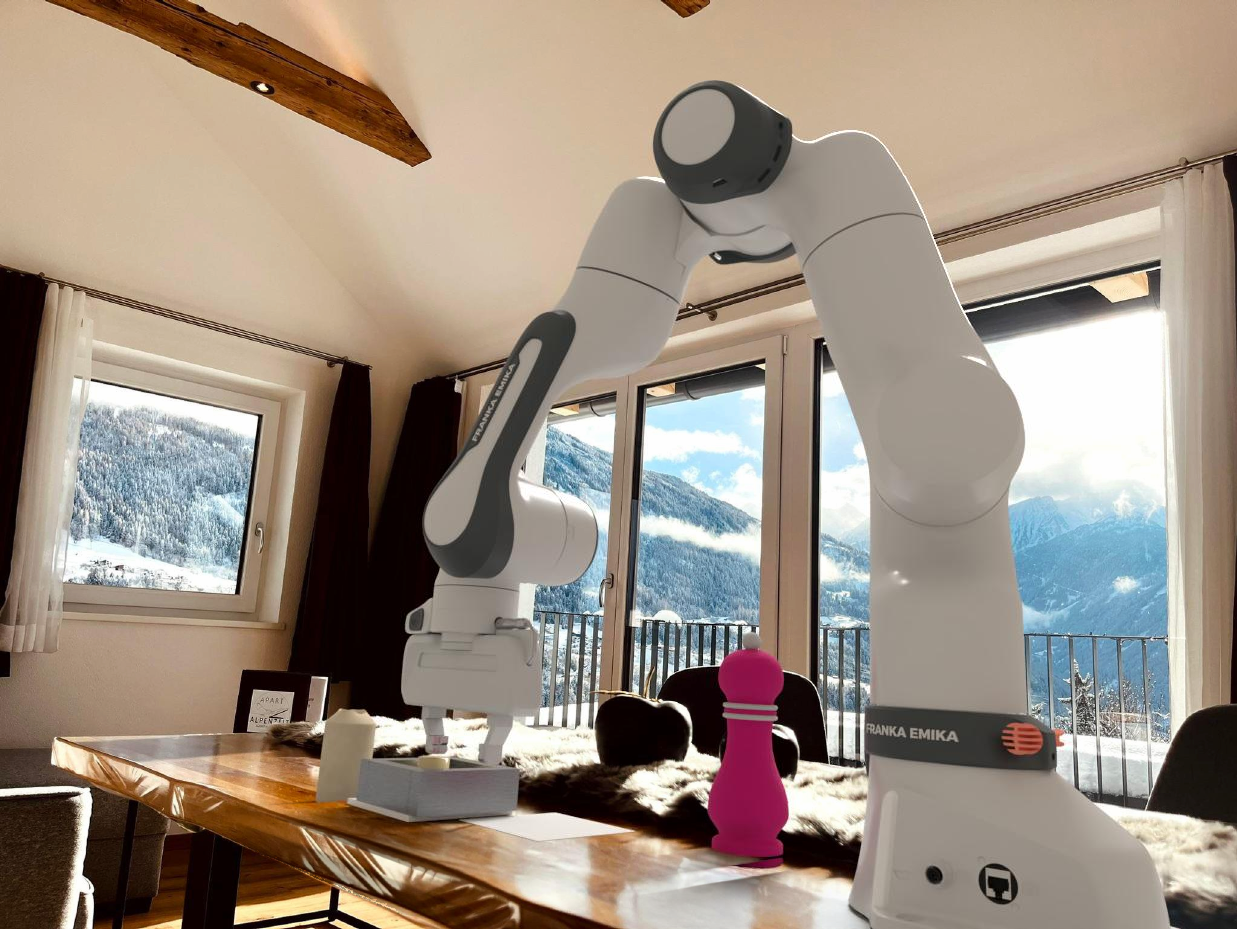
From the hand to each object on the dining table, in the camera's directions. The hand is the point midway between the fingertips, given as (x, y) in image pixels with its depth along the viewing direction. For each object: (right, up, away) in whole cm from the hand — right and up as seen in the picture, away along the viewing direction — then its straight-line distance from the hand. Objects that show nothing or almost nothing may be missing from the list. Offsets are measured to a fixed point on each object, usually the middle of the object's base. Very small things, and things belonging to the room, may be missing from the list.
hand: (461, 758), depth 89 cm
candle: (-15, -8, +9) cm, 19 cm away
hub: (-4, -7, +2) cm, 8 cm away
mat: (+9, -6, -4) cm, 11 cm away
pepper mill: (+27, -6, -10) cm, 29 cm away
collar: (-3, -5, +1) cm, 6 cm away
